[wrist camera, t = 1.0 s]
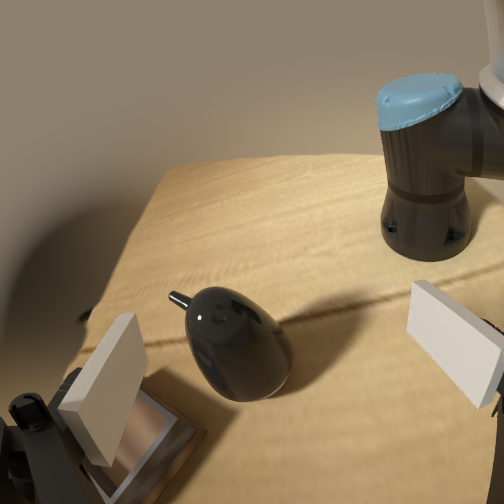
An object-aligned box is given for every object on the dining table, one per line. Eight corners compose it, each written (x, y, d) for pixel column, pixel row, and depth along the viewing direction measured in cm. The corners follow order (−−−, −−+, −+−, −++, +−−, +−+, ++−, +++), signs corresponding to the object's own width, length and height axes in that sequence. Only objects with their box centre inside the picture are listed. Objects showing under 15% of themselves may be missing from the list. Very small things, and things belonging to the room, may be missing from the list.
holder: (136, 380, 41) (112, 362, 37) (206, 431, 32) (183, 417, 28) (83, 450, 33) (56, 437, 29) (141, 517, 24) (110, 512, 20)
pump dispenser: (244, 330, 41) (193, 250, 32) (314, 350, 35) (279, 263, 26) (205, 393, 36) (132, 326, 26) (275, 425, 30) (215, 367, 20)
